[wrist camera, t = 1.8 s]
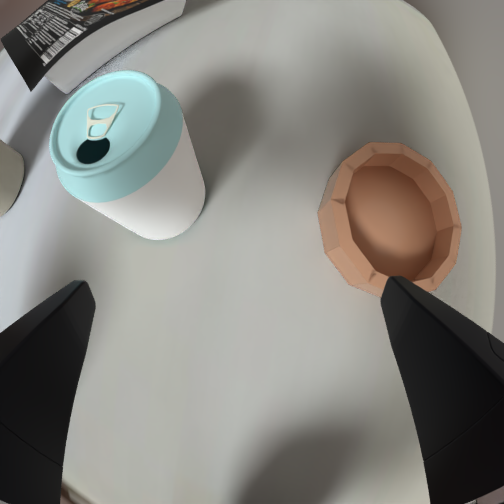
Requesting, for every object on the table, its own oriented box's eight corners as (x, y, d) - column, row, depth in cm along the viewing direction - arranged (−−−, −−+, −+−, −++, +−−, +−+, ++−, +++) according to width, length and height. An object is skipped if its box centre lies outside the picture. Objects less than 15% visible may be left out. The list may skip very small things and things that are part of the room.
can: (223, 209, 22) (206, 123, 10) (147, 258, 21) (58, 223, 9) (180, 144, 22) (142, 41, 11) (111, 189, 22) (30, 117, 10)
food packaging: (215, -29, 18) (27, 88, 15) (217, 16, 26) (62, 125, 23) (117, -45, 20) (-2, 36, 17) (126, -16, 27) (18, 61, 24)
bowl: (333, 308, 21) (349, 311, 18) (306, 163, 23) (316, 143, 19) (445, 281, 22) (470, 279, 18) (418, 160, 23) (437, 145, 20)
